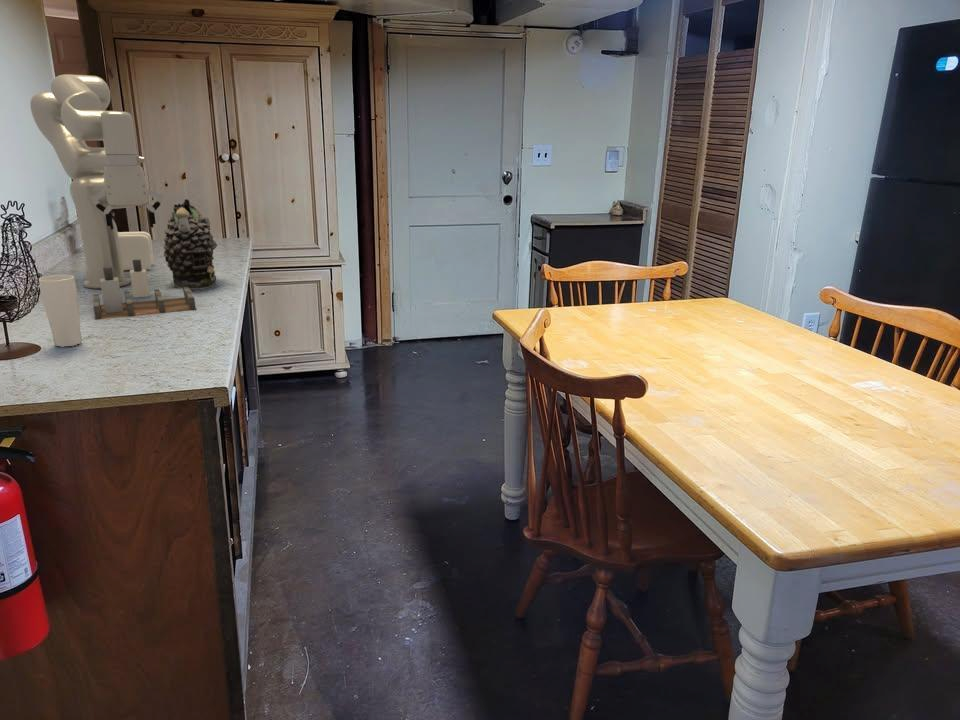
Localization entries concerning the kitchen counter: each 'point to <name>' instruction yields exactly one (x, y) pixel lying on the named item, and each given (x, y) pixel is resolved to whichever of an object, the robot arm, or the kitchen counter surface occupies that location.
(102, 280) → the grey plug
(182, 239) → the decorative house
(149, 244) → the cable organizer
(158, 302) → the wooden divided tray
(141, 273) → the cream plug
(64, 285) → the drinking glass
